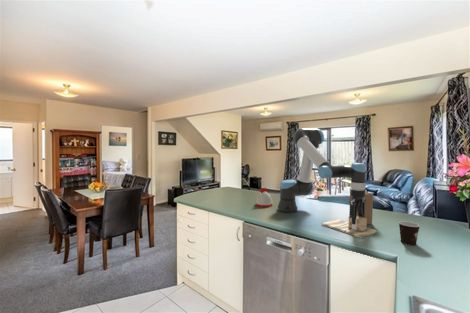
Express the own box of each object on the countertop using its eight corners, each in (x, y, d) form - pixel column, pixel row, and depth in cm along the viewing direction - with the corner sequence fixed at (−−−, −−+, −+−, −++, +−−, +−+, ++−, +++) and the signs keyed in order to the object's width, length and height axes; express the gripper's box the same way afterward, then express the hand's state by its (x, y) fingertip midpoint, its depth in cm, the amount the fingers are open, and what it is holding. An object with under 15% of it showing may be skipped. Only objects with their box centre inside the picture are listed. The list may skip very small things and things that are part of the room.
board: (322, 225, 148) (322, 223, 148) (336, 220, 157) (337, 218, 157) (361, 238, 128) (361, 236, 128) (376, 232, 136) (376, 230, 136)
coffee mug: (409, 239, 126) (410, 221, 126) (423, 246, 118) (424, 226, 117) (388, 239, 126) (389, 221, 125) (400, 246, 117) (401, 227, 117)
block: (360, 225, 148) (361, 194, 147) (348, 220, 158) (349, 191, 157) (372, 224, 151) (373, 193, 150) (360, 219, 160) (361, 190, 159)
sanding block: (348, 228, 139) (348, 216, 139) (353, 226, 142) (353, 215, 142) (361, 232, 133) (362, 219, 133) (366, 230, 136) (366, 218, 135)
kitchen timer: (253, 203, 202) (253, 186, 201) (266, 202, 207) (266, 185, 207) (261, 207, 189) (261, 189, 188) (275, 206, 195) (275, 188, 194)
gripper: (355, 192, 128) (354, 233, 130) (372, 188, 138) (371, 227, 140) (343, 190, 135) (342, 229, 136) (359, 187, 145) (358, 223, 146)
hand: (356, 228), depth 138 cm, fingers closed on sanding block, 5 cm apart
